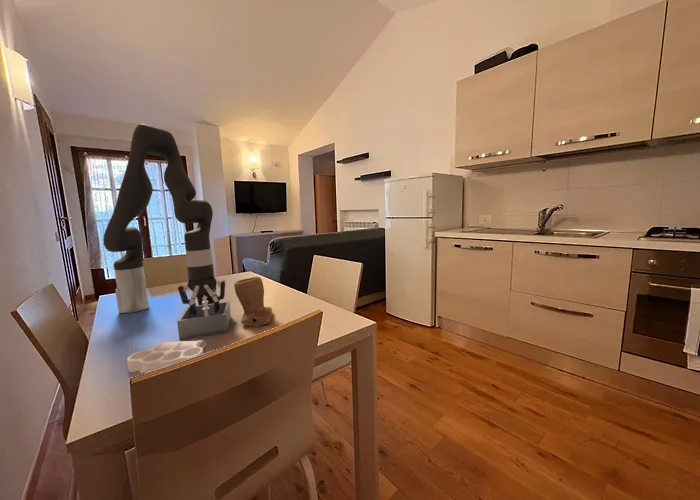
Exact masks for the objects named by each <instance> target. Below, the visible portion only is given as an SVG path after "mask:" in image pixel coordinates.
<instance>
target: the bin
mask: <svg viewBox="0 0 700 500" xmlns="http://www.w3.org/2000/svg"><path fill="white" fill-rule="evenodd" d="M219 305H220V309H219V311H218V312H217V313H215V308H214V304H208V306H207V307H209V309H207V310H208V314H209V316H205V317H204V310H202V308H204V306H203V305H199V304H198V305H196V311H197V314H196V316H193V314H191V311H190V306H186V307H185V309H184V310H183V312H182V313H181V315H180V316H179V318H178V319H177V320H176V322H177V323H176V324H177V329H178V336H179V337H178V338H179V339H178V340H179V341H184V340H189V339H194V338H196V339H197V338H200V337H208V336H215V335H221V334H227V333H229V329H230V324H231V321H232V320H231V319H232V314H231V305H230V301H223V302H219Z"/></svg>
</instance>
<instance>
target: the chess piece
mask: <svg viewBox="0 0 700 500" xmlns="http://www.w3.org/2000/svg"><path fill="white" fill-rule="evenodd" d="M203 297H204V298H202V300H203V299H204V301H202V304H203V306H204V308H202V310H204V317H205V316H209V314H208V310H207V309H209V307H207V306H208V302H209V301H208V300H206V298H207V297H206V296H205V295H204V296H203Z"/></svg>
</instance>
